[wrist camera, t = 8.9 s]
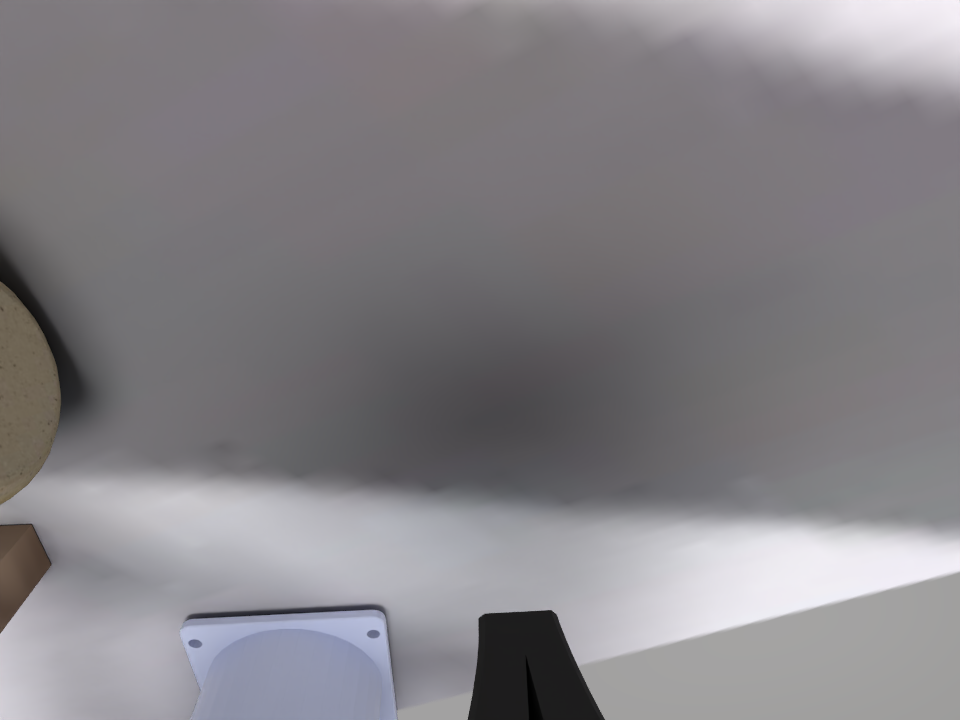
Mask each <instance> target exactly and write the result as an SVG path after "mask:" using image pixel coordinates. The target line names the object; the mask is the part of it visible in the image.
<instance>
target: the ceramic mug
mask: <svg viewBox="0 0 960 720" xmlns="http://www.w3.org/2000/svg"><path fill="white" fill-rule="evenodd" d="M60 408H61V392H60V384H59V378H58V371H57V366H56V363H55V359H54V357H53V354H52V352H51V350H50V347H49V345H48V343H47V341H46V338H45V336H44V334H43V332H42V330H41V329H40V327H39V325H38V323H37V322H36V320H35V318H34V317H33V316H32V315H31V313H30V312H29V311H28V310H27V308H26V307H25V306H24V305H23V303H22V302H21V301H20V300H19V298H18V297H17V296H16V295H15V294H14V292H13V291H11V290H10V289H9V288H8V287H7V286H5V285H4V284H3V283H2V282H1V281H0V505H1V504H2V503H4V502H6V501H7V500H9V499H10V498H12V497H13V496H14V495H15V494H17V493H18V492H19V491H20V490H22V489H23V488H24V487H25V486H27V485H28V484H29V483H30V481H31V480H32V479H33V478H34V477H35V475H36V474H37V473H38V472H39V471H40V469H41V468H42V466H43V464H44V462H45V461H46V459H47V457H48V455H49V453H50V450H51V447H52V444H53V441H54V438H55V435H56V432H57V428H58V424H59V417H60Z"/></svg>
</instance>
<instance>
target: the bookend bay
mask: <svg viewBox="0 0 960 720" xmlns="http://www.w3.org/2000/svg"><path fill="white" fill-rule="evenodd" d="M50 566H51V564H50V562H49V559H48V557H47V555H46V553H45V551H44V549H43V547H42V545H41V543H40V541H39V539H38V537H37V535H36V533H35V531H34V529H33V527H32V525H8V526H0V633H1V632H2V631H3V629H4V628H5V627H6V625H7V624H8V622H9V621H10V620H11V618H12V617H13V616H14V614H15V613H16V612H17V610H18V609H19V608H20V606H21V605H22V604H23V602H24V601H25V600H26V598H27V597H28V596H29V594H30V593H31V592H32V590H33V589H34V588H35V586H36V585H37V584H38V582H39V581H40V579H41V578H42V577H43V575H44V574H45V573H46V571H47V570H48V569H49V567H50Z"/></svg>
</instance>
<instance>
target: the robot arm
mask: <svg viewBox="0 0 960 720" xmlns="http://www.w3.org/2000/svg"><path fill="white" fill-rule="evenodd" d="M180 637H181V640H182V642H183V645H184V648H185V651H186V653H187V656H188V659H189V661H190V664H191V667H192V669H193V672H194V675H195V677H196V680H197V683H198V685H199V688H200V691H201V692H200V694H199V697H198V700H197V703H196V705H195V708H194V711H193V713H192V716H191V719H190V720H398V718H397V709H396V701H395V692H394V684H393V675H392V667H391V658H390V650H389V642H388V633H387V625H386V617H385V615H384V614H383V613H382V612H381V611H378V610H356V611H337V612H318V613H298V614H279V615H259V616H240V617H221V618H201V619H190V620H187V621H185V622H184V623H183V625H182V627H181V629H180ZM468 720H605V719H604V717H603V715H602V714H601V712H600V710H599V708H598V706H597V704H596V702H595V700H594V698H593V697H592V695H591V693H590V691H589V689H588V687H587V685H586V682H585V680H584V678H583V676H582V674H581V672H580V670H579V668H578V666H577V664H576V661H575V659H574V657H573V655H572V653H571V650H570V648H569V646H568V643H567V641H566V638H565V636H564V633H563V631H562V628H561V626H560V623H559V620H558V617H557V614H555V613H554V612H553V611H551V610H547V611H528V612H509V613H489V614H484V615H482V616H481V617H480V618H479V647H478V659H477V668H476V675H475V682H474V689H473V696H472V701H471V706H470V711H469V716H468Z"/></svg>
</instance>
